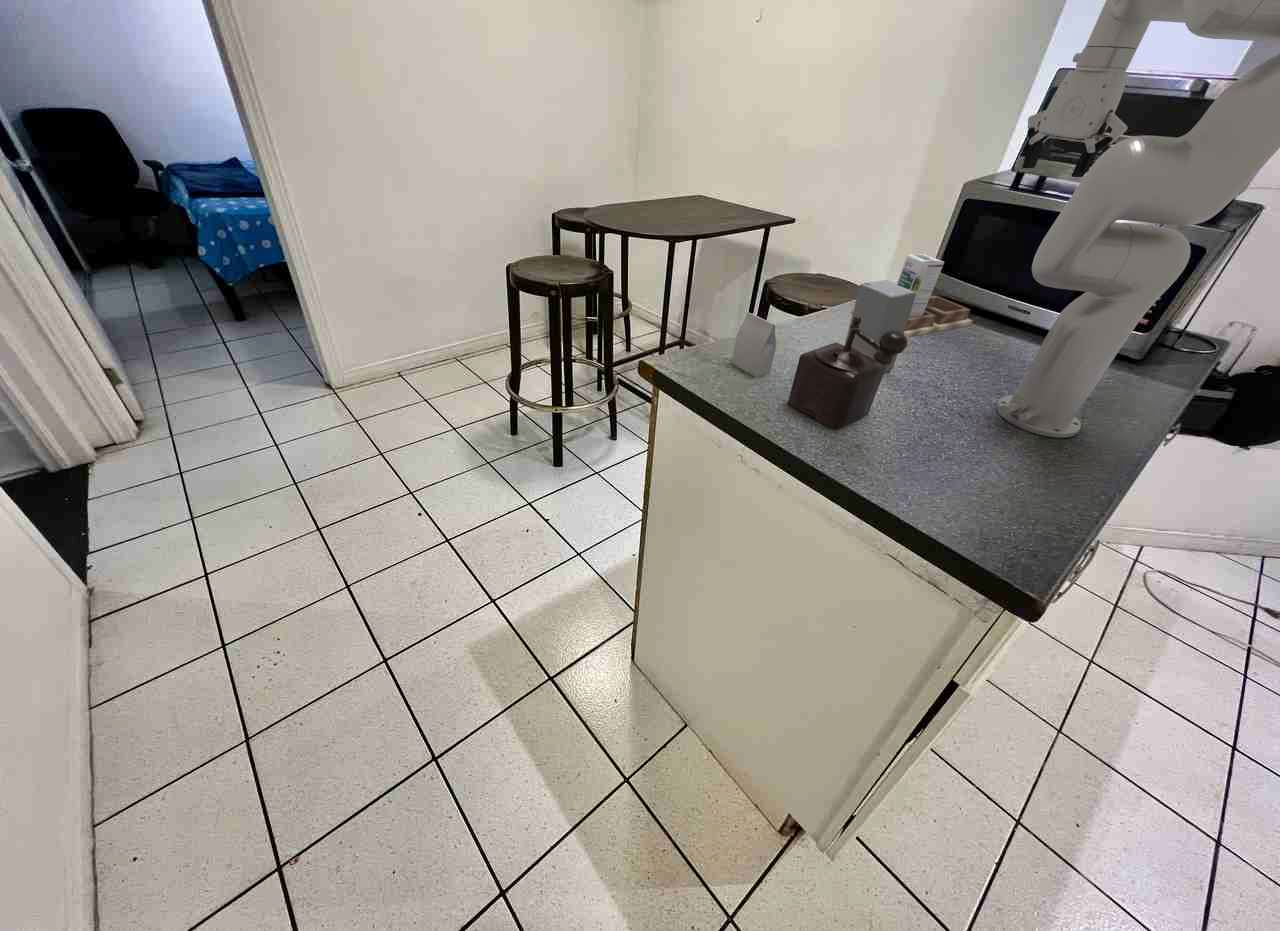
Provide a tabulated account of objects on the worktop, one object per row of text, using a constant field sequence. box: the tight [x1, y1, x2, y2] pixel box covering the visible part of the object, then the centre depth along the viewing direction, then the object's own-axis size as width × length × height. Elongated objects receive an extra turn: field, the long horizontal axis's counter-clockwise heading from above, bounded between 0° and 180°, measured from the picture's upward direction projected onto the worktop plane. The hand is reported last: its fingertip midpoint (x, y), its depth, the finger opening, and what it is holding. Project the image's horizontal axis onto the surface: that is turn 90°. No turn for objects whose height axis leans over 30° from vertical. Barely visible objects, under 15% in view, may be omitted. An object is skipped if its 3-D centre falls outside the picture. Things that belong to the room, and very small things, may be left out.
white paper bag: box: [731, 311, 777, 378], centre depth 98 cm, size 4×7×10 cm, turn 35°
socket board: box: [850, 295, 974, 338], centre depth 127 cm, size 24×16×4 cm, turn 117°
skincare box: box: [844, 279, 917, 373], centre depth 101 cm, size 8×7×16 cm
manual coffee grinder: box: [787, 316, 908, 430], centre depth 84 cm, size 16×11×18 cm
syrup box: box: [896, 253, 945, 318], centre depth 119 cm, size 6×6×14 cm
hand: (1051, 172), depth 102 cm, fingers open, 9 cm apart
